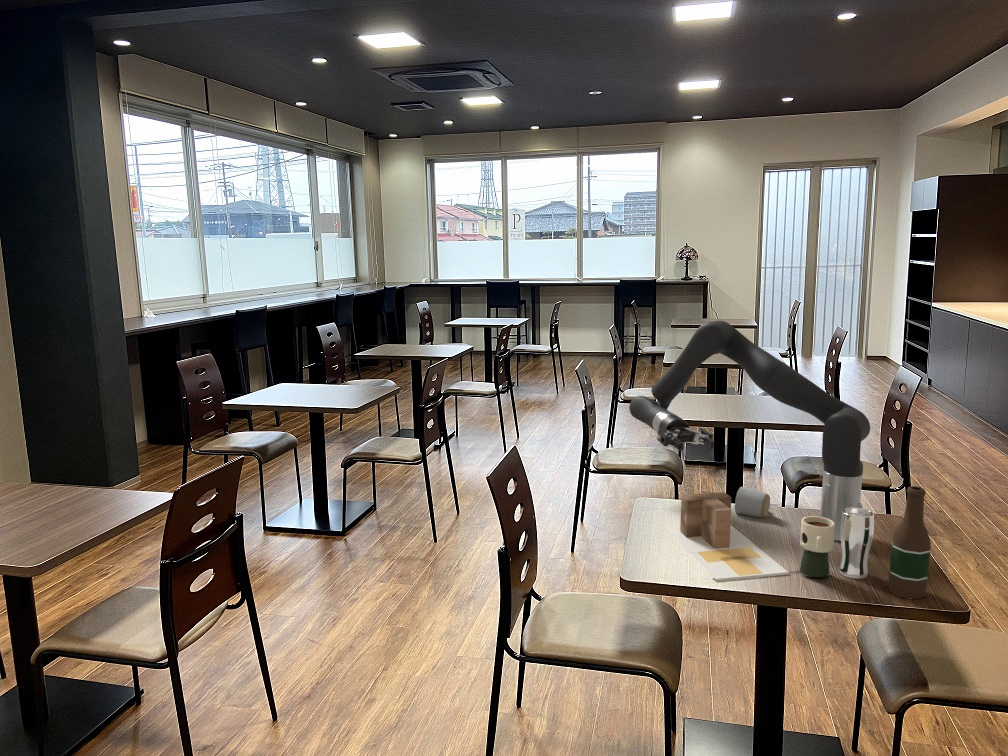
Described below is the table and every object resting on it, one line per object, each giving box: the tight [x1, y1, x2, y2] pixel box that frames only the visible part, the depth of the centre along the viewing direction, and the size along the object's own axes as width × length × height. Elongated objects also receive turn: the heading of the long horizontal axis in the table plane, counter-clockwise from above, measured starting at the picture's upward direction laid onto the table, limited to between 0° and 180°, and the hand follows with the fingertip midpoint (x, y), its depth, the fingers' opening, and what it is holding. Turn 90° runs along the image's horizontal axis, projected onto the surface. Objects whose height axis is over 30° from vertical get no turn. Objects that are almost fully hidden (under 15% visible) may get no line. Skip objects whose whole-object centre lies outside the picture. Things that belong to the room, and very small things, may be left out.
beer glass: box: [838, 507, 875, 580], centre depth 176 cm, size 7×7×15 cm
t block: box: [679, 491, 732, 549], centre depth 196 cm, size 12×12×10 cm
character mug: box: [799, 515, 835, 578], centre depth 176 cm, size 11×7×13 cm, turn 162°
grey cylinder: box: [734, 486, 771, 519], centre depth 214 cm, size 11×8×8 cm
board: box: [667, 525, 789, 582], centre depth 190 cm, size 29×18×1 cm, turn 10°
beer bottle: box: [888, 485, 932, 600], centre depth 166 cm, size 8×8×24 cm
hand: (697, 446), depth 201 cm, fingers open, 8 cm apart
